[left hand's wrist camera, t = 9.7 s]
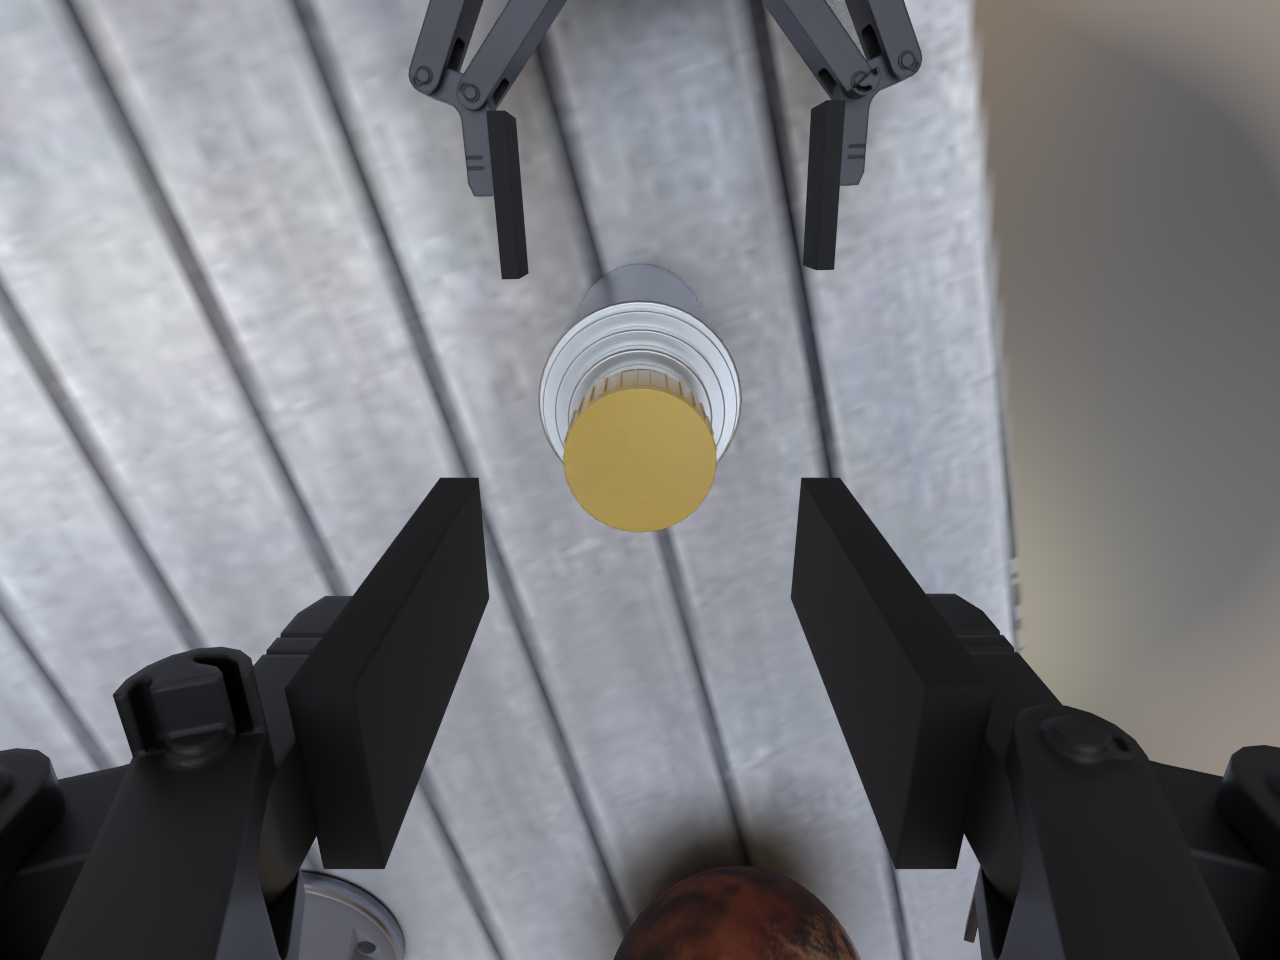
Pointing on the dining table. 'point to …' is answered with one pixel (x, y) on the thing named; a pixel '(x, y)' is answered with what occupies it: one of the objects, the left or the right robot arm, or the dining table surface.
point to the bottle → (639, 350)
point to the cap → (640, 451)
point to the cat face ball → (736, 921)
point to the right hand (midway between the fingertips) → (666, 272)
